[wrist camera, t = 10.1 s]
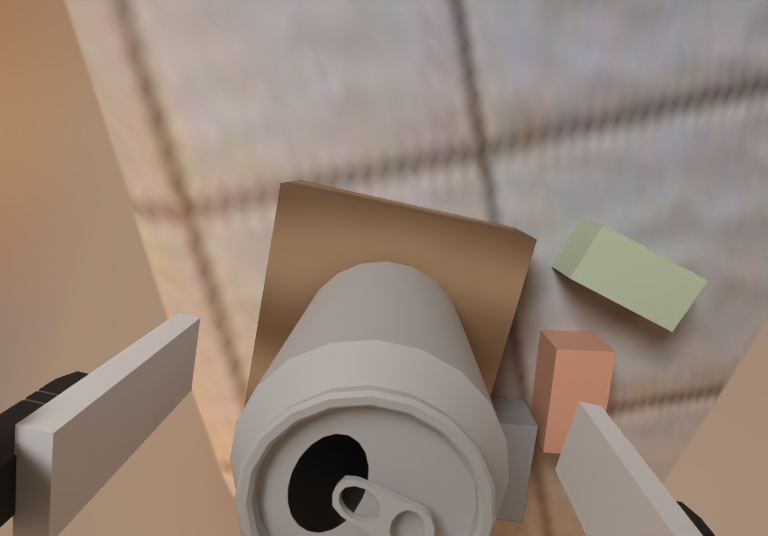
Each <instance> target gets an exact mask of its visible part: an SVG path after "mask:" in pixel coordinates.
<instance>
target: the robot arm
mask: <svg viewBox="0 0 768 536" xmlns="http://www.w3.org/2000/svg"><path fill="white" fill-rule="evenodd" d="M199 323H200V318H198V317H194V316H189V315H185V314H180V313H177V314H176V315H174V316H173V317H171V318H170V319H168V320H167V321H166V322H164V323H163V324H161V325H160V326H158V327H157V328H155V329H154V330H152V331H151V332H150V333H148V334H147V335H145V336H144V337H142V338H141V339H139V340H138V341H137V342H135V343H134V344H132V345H131V346H129V347H128V348H126V349H125V350H123V351H122V352H121V353H119V354H118V355H116V356H115V357H113V358H112V359H110V360H109V361H107V362H106V363H104V364H103V365H102V366H100V367H99V368H97V369H96V370H94V371H93V372H91V373H90V374H86V373H82V372H74V373H71V374H68V375H65V376H63V377H60V378H57V379H55V380H53V381H52V382H50V383H48V384H47V385H45V386H44V387H42V388H40V389H39V391H38V392H34V393H33V394H32V395H30V396H28V397H26V399H25V400H22V401H20V402H19V403H17V404H15V405H14V406H12V407H11V408H9V409H8V410H6V411H4V412H3V413H1V414H0V527H1V526H2V525H3V524H4V523H5V522H7V521H8V520H9V519H10V518H11V517H12V516H13V536H58V535H59V533H60V532H61V531H62V530H63V529H64V528H65V527H66V526H67V525H68V524H69V523H70V522H71V520H72V519H73V518H74V517H75V516H76V515H77V514H78V513H79V512H80V511H81V509H83V507H84V506H85V505H86V504H87V503H88V502H89V501H90V500H91V499H92V498H93V497H94V495H95V494H96V493H97V492H98V491H99V490H100V489H101V488H102V487H103V486H104V484H105V483H106V482H107V481H108V480H109V479H110V478H111V477H112V476H113V475H114V474H115V473H116V472H117V470H118V469H119V468H120V467H121V466H122V465H123V464H124V463H125V462H126V461H127V460H128V458H129V457H130V456H131V455H132V454H133V453H134V452H135V451H136V450H137V449H138V447H139V446H140V445H141V444H142V443H143V442H144V441H145V440H146V439H147V438H148V437H149V436H150V434H151V433H152V432H153V431H154V430H155V429H156V428H157V427H158V426H159V424H161V422H162V421H163V420H164V419H165V418H166V417H167V416H168V415H169V414H170V413H171V412H172V411H173V409H174V408H175V407H176V406H177V405H178V404H179V403H180V402H181V401H182V399H183V398H184V397H185V396H186V395H187V394H188V393H189V392H190V391H191V388H192V380H193V372H194V364H195V355H196V347H197V339H198V331H199ZM555 471H556V473H557V475H558V477H559V479H560V481H561V484H562V486H563V488H564V490H565V492H566V494H567V496H568V498H569V500H570V502H571V505H572V507H573V509H574V511H575V513H576V515H577V517H578V519H579V521H580V524H581V526H582V528H583V530H584V532H585V534H586V536H714V534H713V532H712V531H711V530H710V529H709V528H708V526H707V525H706V524H705V523H704V521H703V520H702V519H701V518H700V517H699V516H698V515H696V514H695V513H694V512H693V511H691V510H690V509H689V508H688V507H687V506H686V505H684V504H683V503H682V502H678V501H675V499H674V498H673V497H672V496H671V494H670V493H669V492H668V491H667V489H666V488H665V487H664V485H663V484H662V483H661V482H660V480H659V479H658V478H657V476H656V475H655V474H654V473H653V471H652V470H651V469H650V467H649V466H648V465H647V464H646V462H645V461H644V460H643V459H642V457H641V456H640V455H639V453H638V452H637V451H636V450H635V448H634V447H633V446H632V445H631V443H630V442H629V441H628V439H627V438H626V437H625V436H624V434H623V433H622V432H621V430H620V429H619V428H618V427H617V425H616V424H615V423H614V422H613V420H612V419H611V418H610V416H609V415H608V414H607V413H606V411H605V410H604V409H603V408H602V406H599V405H594V404H590V403H585V402H581V401H579V404H578V406H577V409H576V412H575V415H574V418H573V420H572V423H571V426H570V429H569V432H568V434H567V437H566V440H565V443H564V446H563V448H562V451H561V454H560V457H559V460H558V462H557V465H556V468H555Z"/></svg>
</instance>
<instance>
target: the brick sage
mask: <svg viewBox="0 0 768 536" xmlns="http://www.w3.org/2000/svg"><path fill="white" fill-rule="evenodd" d="M552 267H553V268H555V269H556V270H558V271H559V272H561V273H562V274H564V275H565V276H567V277H568V278H570V279H572V280H574V281H576V282H578V283H580V284H581V285H583V286H585V287H587V288H589V289H591V290H593V291H595V292H597V293H599V294H601V295H602V296H604V297H606V298H608V299H610V300H612V301H614V302H616V303H618V304H620V305H622V306H623V307H625V308H627V309H629V310H631V311H633V312H635V313H637V314H639V315H641V316H643V317H644V318H646V319H648V320H650V321H652V322H654V323H656V324H658V325H660V326H662V327H664V328H665V329H667V330H669V331H671V332H673V330H674V329H675V327H676V326H677V325H678V323H679V322H680V320H681V319H682V318H683V316H684V315H685V313H686V312H687V310H688V309H689V308H690V306H691V305H692V303H693V302H694V300H695V299H696V298H697V296H698V295H699V293H700V292H701V291H702V289H703V288H704V286H705V285H706V283H707V282H708V281H707V280H706V279H704V278H702V277H700V276H698V275H696V274H694V273H693V272H691V271H689V270H687V269H685V268H683V267H681V266H680V265H678V264H676V263H674V262H672V261H670V260H668V259H666V258H665V257H663V256H661V255H659V254H657V253H655V252H653V251H652V250H650V249H648V248H646V247H644V246H642V245H640V244H639V243H637V242H635V241H633V240H631V239H629V238H627V237H625V236H624V235H622V234H620V233H618V232H616V231H614V230H612V229H611V228H609V227H607V226H605V225H603V224H599V223H596V222H592V221H589V220H586V219H582V218H581V219H580V221H579V222H578V224H577V225H576V227H575V229H574V230H573V232H572V234H571V235H570V237H569V238H568V240H567V242H566V243H565V245H564V247H563V248H562V250H561V251H560V253H559V255H558V256H557V258H556V260H555V261H554V263H553V264H552Z"/></svg>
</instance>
